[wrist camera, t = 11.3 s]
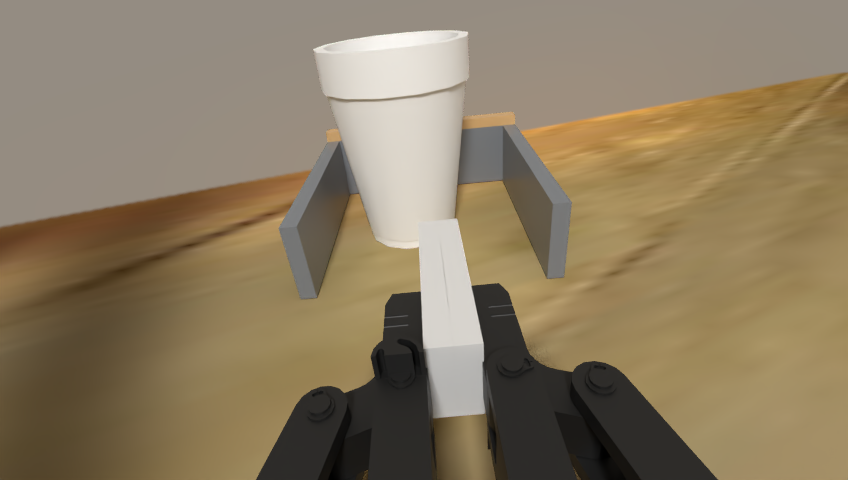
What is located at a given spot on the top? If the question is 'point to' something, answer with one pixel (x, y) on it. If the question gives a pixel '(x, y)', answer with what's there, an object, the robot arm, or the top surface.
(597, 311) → the top surface
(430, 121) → the foam cup
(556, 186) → the box
